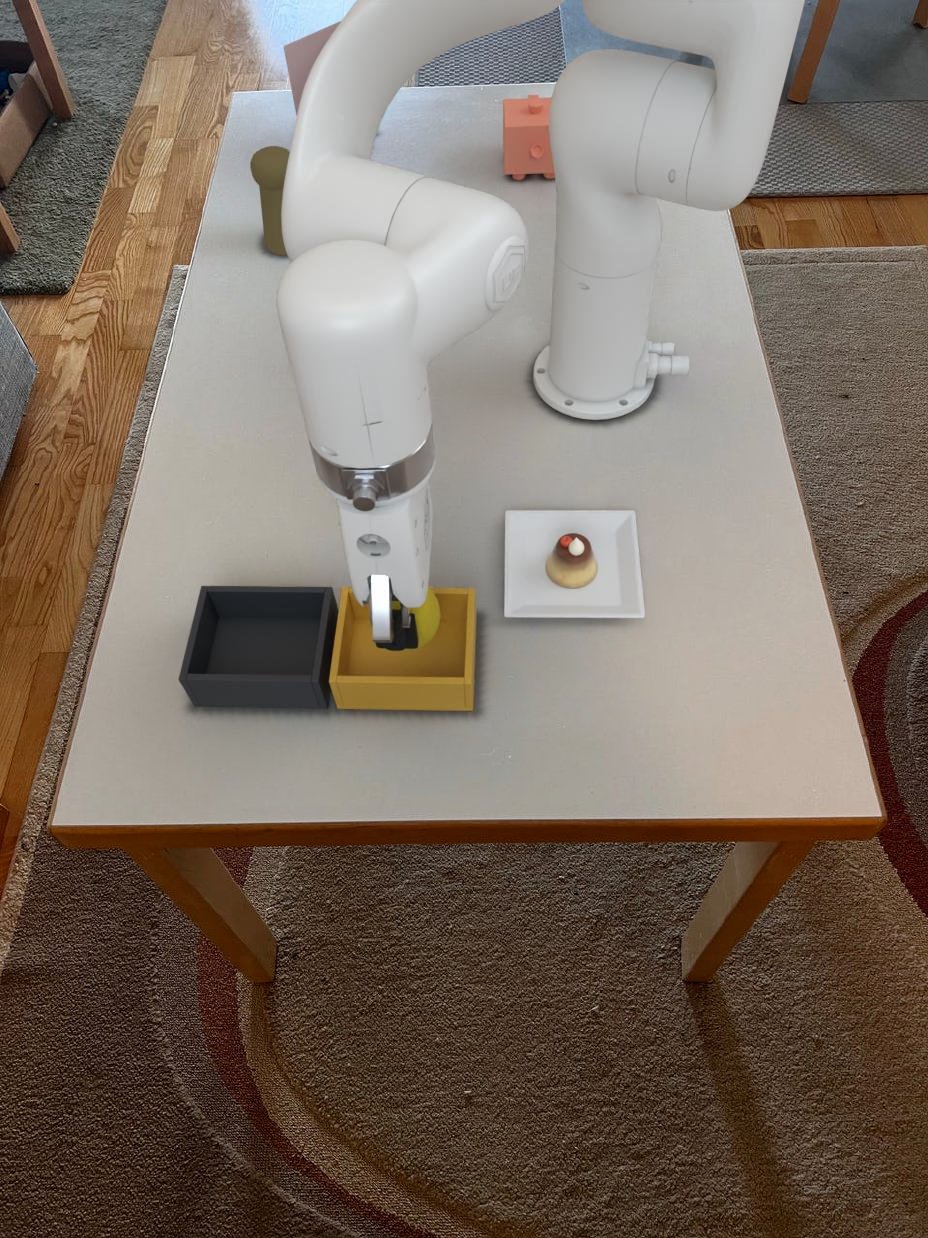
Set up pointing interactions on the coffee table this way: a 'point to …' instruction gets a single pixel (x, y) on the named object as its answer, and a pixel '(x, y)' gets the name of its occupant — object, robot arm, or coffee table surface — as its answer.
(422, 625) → the lemon
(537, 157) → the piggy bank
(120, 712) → the coffee table surface
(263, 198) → the pawn chess piece
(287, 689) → the charcoal bin
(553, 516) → the dessert
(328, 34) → the greeting card
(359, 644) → the ochre bin
